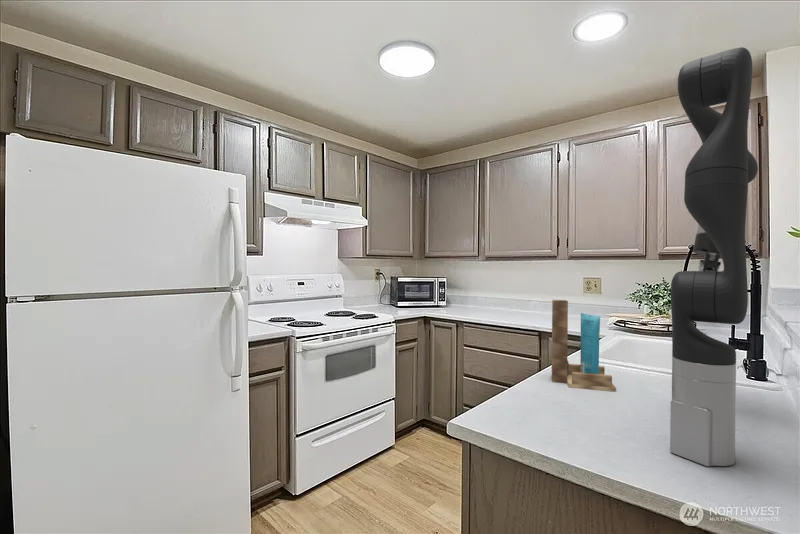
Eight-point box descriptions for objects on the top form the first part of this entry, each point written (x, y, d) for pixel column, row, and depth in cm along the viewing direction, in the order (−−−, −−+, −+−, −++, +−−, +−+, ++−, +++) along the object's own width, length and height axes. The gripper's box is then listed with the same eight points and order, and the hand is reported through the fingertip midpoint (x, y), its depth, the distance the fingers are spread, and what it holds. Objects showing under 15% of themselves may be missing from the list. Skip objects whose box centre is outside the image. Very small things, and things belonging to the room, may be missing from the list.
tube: (606, 382, 114) (606, 315, 114) (593, 384, 112) (594, 316, 112) (584, 376, 121) (585, 312, 121) (572, 377, 119) (573, 313, 119)
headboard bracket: (607, 379, 121) (607, 300, 121) (615, 391, 109) (616, 303, 109) (550, 375, 125) (551, 298, 125) (553, 385, 114) (554, 301, 114)
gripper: (694, 240, 105) (682, 300, 104) (698, 225, 93) (684, 293, 92) (731, 244, 100) (718, 307, 99) (739, 229, 89) (725, 300, 88)
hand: (702, 300), depth 96 cm, fingers open, 8 cm apart
